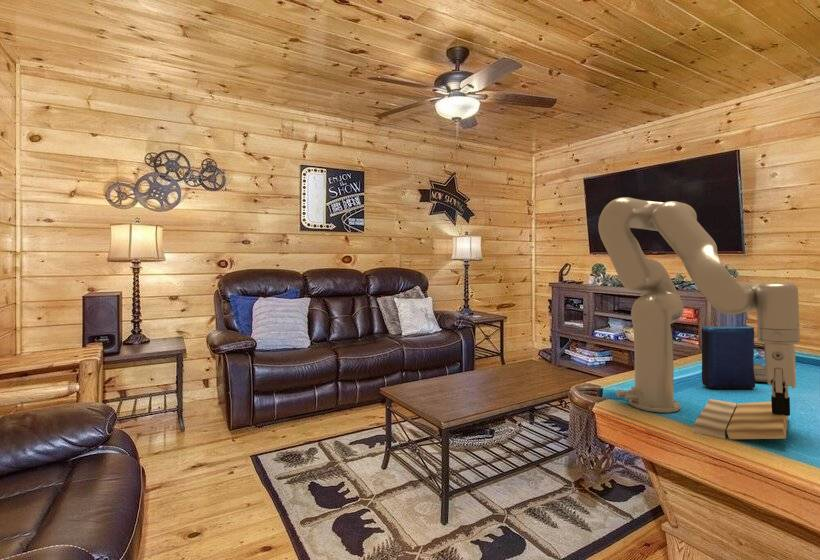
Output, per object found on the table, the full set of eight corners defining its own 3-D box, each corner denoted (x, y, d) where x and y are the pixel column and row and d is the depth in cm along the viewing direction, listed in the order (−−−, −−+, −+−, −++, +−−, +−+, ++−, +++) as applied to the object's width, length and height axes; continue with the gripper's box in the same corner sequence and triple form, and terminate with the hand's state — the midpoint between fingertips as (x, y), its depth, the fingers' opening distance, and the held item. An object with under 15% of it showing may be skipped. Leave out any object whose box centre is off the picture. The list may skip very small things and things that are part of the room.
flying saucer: (728, 371, 157) (728, 356, 156) (782, 377, 147) (782, 361, 147) (725, 380, 145) (725, 364, 145) (784, 387, 135) (784, 370, 135)
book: (747, 385, 138) (747, 323, 137) (759, 390, 132) (759, 326, 132) (699, 385, 139) (699, 324, 138) (709, 390, 134) (709, 326, 133)
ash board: (724, 438, 98) (724, 429, 98) (693, 432, 102) (693, 423, 102) (736, 410, 116) (736, 403, 116) (710, 406, 120) (709, 398, 120)
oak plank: (785, 438, 91) (782, 428, 91) (729, 439, 98) (726, 430, 98) (788, 408, 109) (786, 400, 109) (740, 410, 115) (738, 403, 116)
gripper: (799, 341, 92) (802, 426, 92) (800, 332, 103) (802, 408, 103) (754, 339, 97) (757, 419, 97) (759, 330, 108) (762, 403, 109)
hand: (781, 413), depth 100 cm, fingers closed
